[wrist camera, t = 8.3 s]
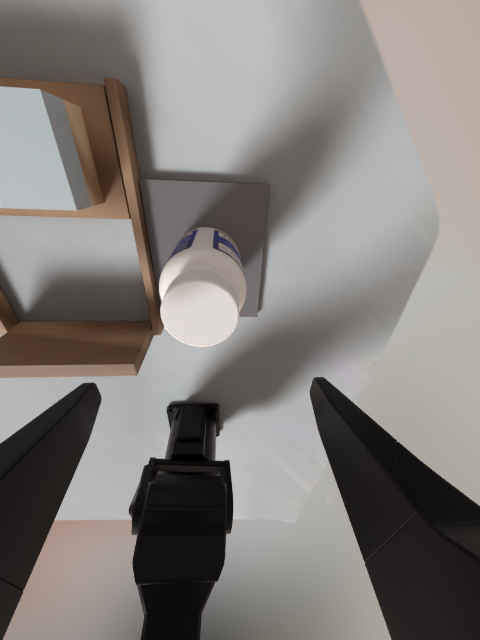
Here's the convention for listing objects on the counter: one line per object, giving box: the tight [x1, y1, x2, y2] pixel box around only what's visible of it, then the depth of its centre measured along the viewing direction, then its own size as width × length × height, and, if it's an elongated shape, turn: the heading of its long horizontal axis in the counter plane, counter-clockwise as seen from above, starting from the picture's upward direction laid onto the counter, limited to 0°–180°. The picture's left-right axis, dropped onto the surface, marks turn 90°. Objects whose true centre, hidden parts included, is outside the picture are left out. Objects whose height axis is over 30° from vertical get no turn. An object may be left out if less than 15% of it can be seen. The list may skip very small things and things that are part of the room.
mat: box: [139, 179, 269, 317], centre depth 20 cm, size 11×9×1 cm
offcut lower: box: [63, 99, 104, 206], centre depth 14 cm, size 5×9×2 cm, turn 88°
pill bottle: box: [159, 227, 247, 347], centre depth 16 cm, size 5×5×9 cm
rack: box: [0, 78, 164, 378], centre depth 16 cm, size 18×14×6 cm
